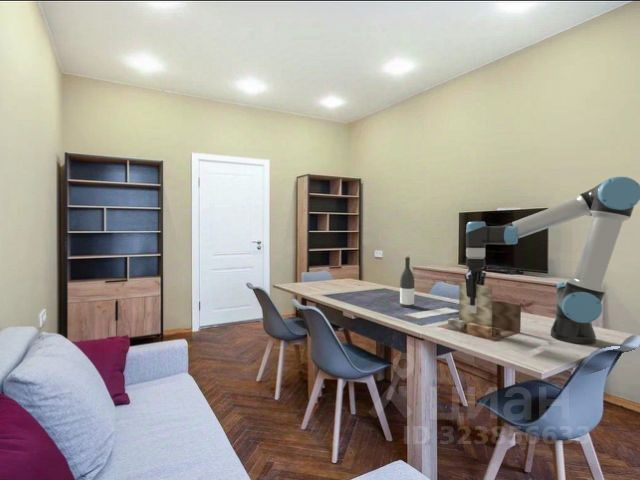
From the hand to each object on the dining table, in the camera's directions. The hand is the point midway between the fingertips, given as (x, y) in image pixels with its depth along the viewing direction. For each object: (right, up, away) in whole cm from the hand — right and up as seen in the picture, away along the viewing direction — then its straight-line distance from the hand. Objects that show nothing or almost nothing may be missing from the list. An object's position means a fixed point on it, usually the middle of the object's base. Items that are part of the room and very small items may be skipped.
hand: (475, 312), depth 148 cm
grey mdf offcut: (-8, -8, +2) cm, 11 cm away
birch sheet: (0, -6, 0) cm, 6 cm away
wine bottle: (-15, -8, +55) cm, 57 cm away
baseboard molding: (-7, -9, +36) cm, 38 cm away
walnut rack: (+2, -9, +2) cm, 10 cm away
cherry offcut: (-1, -8, -7) cm, 10 cm away
